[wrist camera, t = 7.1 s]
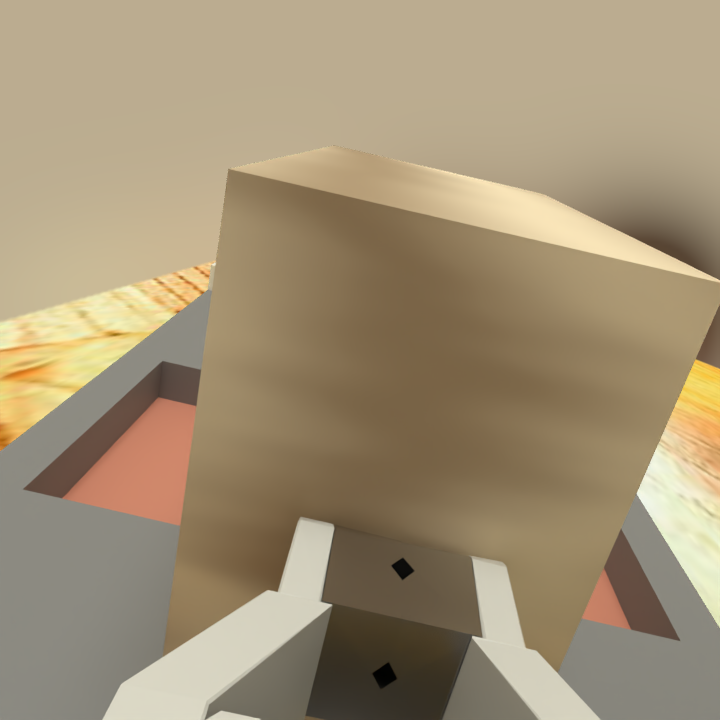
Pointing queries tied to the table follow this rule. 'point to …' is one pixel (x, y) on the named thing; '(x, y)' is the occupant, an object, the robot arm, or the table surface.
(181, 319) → the trap runway
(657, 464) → the table surface
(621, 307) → the maple block
